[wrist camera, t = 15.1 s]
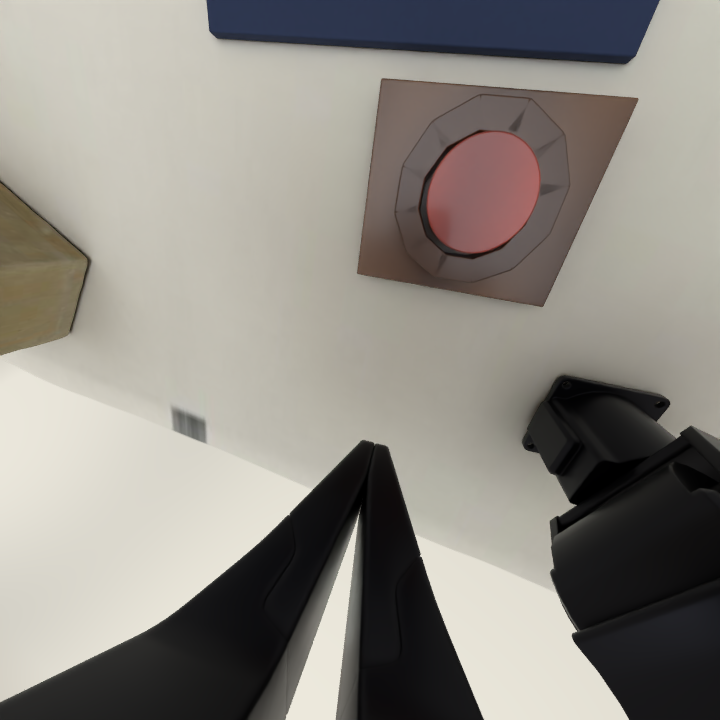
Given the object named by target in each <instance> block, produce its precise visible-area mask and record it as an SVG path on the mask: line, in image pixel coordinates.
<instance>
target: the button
mask: <svg viewBox="0 0 720 720" xmlns="http://www.w3.org/2000/svg"><path fill="white" fill-rule="evenodd" d="M540 182H541V177H540V168H539V163H538V161H537V158H536V155H535V154H534V152H533V150H532V149H531V147H530V146H529V145H528V144H527V143H526V142H525V141H524V140H523V139H522V138H520V137H518V136H516V135H515V134H512V133H509V132H505V131H495V130H492V131H484V132H481V133H477V134H475V135H472V136H470V137H468V138H466V139H465V140H463V141H461V142H460V143H458V144H457V145H456V146H455V147H453V148H452V149H451V150H450V151H449V152H448V153H447V154H446V156H445V157H444V158H443V159H442V161H441V162H440V164H439V165H438V167H437V168H436V170H435V172H434V174H433V176H432V179H431V182H430V185H429V189H428V194H427V205H426V209H427V217H428V222H429V225H430V227H431V229H432V231H433V233H434V234H435V236H436V237H437V238H438V239H439V240H440V241H441V242H442V243H443V244H445V245H446V246H447V247H449V248H451V249H453V250H455V251H458V252H462V253H470V254H473V253H482V252H486V251H490V250H493V249H495V248H497V247H499V246H501V245H503V244H504V243H506V242H507V241H509V240H510V239H511V238H513V237H514V236H515V235H516V234H517V233H518V232H519V231H520V230H521V229H522V227H523V226H524V225H525V223H526V222H527V221H528V219H529V217H530V216H531V214H532V212H533V210H534V208H535V205H536V203H537V199H538V196H539V191H540Z"/></svg>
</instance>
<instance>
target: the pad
mask: <svg viewBox="0 0 720 720" xmlns="http://www.w3.org/2000/svg"><path fill="white" fill-rule="evenodd" d="M659 1H660V0H207V9H208V21H209V31H210V32H211V33H212V34H213V35H214V36H215V37H216V38H222V39H238V40H254V41H270V42H286V43H302V44H319V45H335V46H351V47H367V48H383V49H399V50H415V51H432V52H448V53H464V54H480V55H496V56H512V57H528V58H545V59H561V60H577V61H593V62H609V63H625V64H626V63H628V62H629V61H630V60H631V59H633V58H634V57H635V56H636V54H637V51H638V49H639V47H640V44H641V42H642V40H643V37H644V35H645V33H646V31H647V28H648V26H649V24H650V21H651V19H652V17H653V14H654V12H655V10H656V7H657V5H658V3H659Z"/></svg>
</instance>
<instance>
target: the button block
mask: <svg viewBox="0 0 720 720" xmlns="http://www.w3.org/2000/svg"><path fill="white" fill-rule="evenodd" d="M637 102H638V98H631V97H618V96H605V95H592V94H579V93H566V92H553V91H540V90H527V89H514V88H501V87H488V86H475V85H462V84H449V83H436V82H423V81H410V80H397V79H384V78H383V79H382V80H381V86H380V94H379V102H378V110H377V118H376V126H375V134H374V142H373V150H372V158H371V166H370V174H369V182H368V190H367V198H366V206H365V214H364V223H363V231H362V239H361V247H360V255H359V263H358V271H357V273H358V274H361V275H367V276H372V277H378V278H384V279H389V280H395V281H400V282H406V283H411V284H417V285H423V286H428V287H434V288H439V289H445V290H450V291H456V292H462V293H467V294H473V295H478V296H484V297H490V298H495V299H501V300H506V301H512V302H517V303H523V304H529V305H534V306H540V307H543V306H544V304H545V301H546V299H547V297H548V295H549V293H550V291H551V288H552V286H553V284H554V282H555V280H556V278H557V275H558V273H559V271H560V269H561V267H562V265H563V262H564V260H565V258H566V256H567V254H568V251H569V249H570V247H571V245H572V243H573V241H574V238H575V236H576V234H577V232H578V230H579V228H580V225H581V223H582V221H583V219H584V217H585V215H586V212H587V210H588V208H589V206H590V204H591V202H592V199H593V197H594V195H595V193H596V191H597V189H598V186H599V184H600V182H601V180H602V178H603V176H604V173H605V171H606V169H607V167H608V165H609V163H610V160H611V158H612V156H613V154H614V152H615V150H616V147H617V145H618V143H619V141H620V139H621V137H622V134H623V132H624V130H625V128H626V126H627V124H628V121H629V119H630V117H631V115H632V113H633V111H634V108H635V106H636V104H637ZM492 130H495V131H505V132H509V133H512V134H515V135H516V136H518V137H520V138H522V139H523V140H524V141H525V142H526V143H527V144H528V145H529V146H530V147H531V149H532V150H533V152H534V154H535V155H536V158H537V161H538V163H539V168H540V177H541V182H540V191H539V196H538V199H537V203H536V205H535V208H534V210H533V212H532V214H531V216H530V217H529V219H528V221H527V222H526V223H525V225H524V226H523V227H522V229H521V230H520V231H519V232H518V233H517V234H516V235H515V236H514V237H513V238H511V239H510V240H509V241H507V242H506V243H504V244H503V245H501V246H499V247H497V248H495V249H493V250H490V251H486V252H482V253H473V254H470V253H462V252H458V251H455V250H453V249H451V248H449V247H447V246H446V245H445V244H443V243H442V242H441V241H440V240H439V239H438V238H437V237H436V236H435V234H434V233H433V231H432V229H431V227H430V225H429V222H428V217H427V209H426V205H427V194H428V189H429V185H430V182H431V179H432V176H433V174H434V172H435V170H436V168H437V167H438V165H439V164H440V162H441V161H442V159H443V158H444V157H445V156H446V154H447V153H448V152H449V151H450V150H451V149H452V148H453V147H455V146H456V145H457V144H458V143H460V142H461V141H463V140H465V139H466V138H468V137H470V136H472V135H475V134H477V133H481V132H484V131H492Z"/></svg>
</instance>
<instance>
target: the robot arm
mask: <svg viewBox="0 0 720 720" xmlns="http://www.w3.org/2000/svg"><path fill="white" fill-rule="evenodd" d="M564 382H568V383H567V384H566V385H562V384H563V383H564ZM657 402H659V403H658V404H656V403H657ZM669 406H670V401H669V400H668V399H667V398H665V397H664V396H662V395H658V394H653V393H649V392H644V391H639V390H634V389H630V388H625V387H620V386H615V385H610V384H606V383H601V382H596V381H591V380H586V379H582V378H577V377H572V376H566V375H564V376H560V377H559V378H558V379H557V380H556V381H555V383H554V385H553V387H552V388H551V390H550V392H549V394H548V396H547V397H546V399H545V401H543V402H542V403H541V404H540V406H539V408H538V410H537V412H536V414H535V415H534V417H533V419H532V421H531V423H530V424H529V426H528V428H527V430H528V432H527V433H526V435H525V437H524V439H523V441H522V444H523V446H524V448H525V449H526V450H528V451H532V452H536V453H540V455H541V457H542V459H543V461H544V463H545V465H546V467H547V469H548V471H549V472H550V473H551V474H554V475H556V477H557V479H558V481H559V483H560V484H561V486H562V488H563V490H564V492H565V494H566V496H567V498H568V500H569V501H570V503H572V504H575V505H577V506H575V507H574V508H572V509H571V510H569V511H568V512H566V513H565V514H563V515H562V516H560V517H559V516H556V517H555V518H553V519H552V520H550V529H551V540H552V546H551V550H552V557H553V563H554V569H552V570H551V572H550V573H551V578H552V582H553V584H554V586H555V589H556V591H557V594H558V596H559V598H560V601H561V603H562V606H563V607H564V609H565V612H566V613H567V615H568V617H569V619H570V621H571V622H572V624H573V625H574V627H575V629H576V630H577V632H575V633H573V634H572V638H573V640H574V642H575V644H576V645H577V646H578V648H579V649H580V650H581V651H582V653H583V654H584V655H585V656H586V657H587V659H588V660H589V661H590V662H591V663H592V665H593V666H594V667H595V668H596V670H597V671H598V672H599V673H600V675H601V676H602V678H603V679H604V681H605V682H606V684H607V685H608V687H609V688H610V690H611V691H612V692H613V694H614V696H615V697H616V698H617V700H618V702H619V703H620V704H621V706H622V708H623V710H624V711H625V713H626V715H627V716H628V718H629V720H720V440H719V439H717V438H715V437H713V436H711V435H709V434H707V433H705V432H703V431H701V430H699V429H697V428H695V427H693V426H690V427H688V428H687V429H685V430H684V431H682V432H681V433H680V434H681V436H680V437H678V438H677V439H676V438H675V437H674V436H673V435H671V434H670V433H669V432H668V431H667V430H665V429H664V428H663V427H662V426H661V425H659V424H658V423H657V420H658V419H659V418H660V417H661V416H662V414H663V413H664V412H665V411H666V410H667V408H668V407H669ZM530 443H532V444H531V445H528V444H530ZM360 507H361V508H360ZM359 511H360V513H359ZM358 515H359V520H358V527H357V537H356V545H355V554H354V563H353V571H352V580H351V590H350V598H349V607H348V616H347V624H346V634H345V642H344V652H343V660H342V669H341V678H340V687H339V695H338V704H337V713H336V720H484V719H483V717H482V715H481V712H480V709H479V707H478V704H477V702H476V700H475V698H474V696H473V692H472V690H471V687H470V685H469V683H468V680H467V678H466V675H465V673H464V671H463V668H462V665H461V663H460V661H459V658H458V656H457V653H456V651H455V648H454V646H453V644H452V641H451V639H450V636H449V634H448V631H447V629H446V626H445V624H444V621H443V618H442V616H441V613H440V610H439V608H438V606H437V603H436V600H435V597H434V594H433V591H432V588H431V585H430V582H429V579H428V576H427V573H426V570H425V566H424V564H423V560H422V557H420V550H419V548H418V544H417V541H416V537H415V534H414V531H413V527H412V524H411V521H410V518H409V514H408V511H407V508H406V504H405V501H404V498H403V495H402V491H401V488H400V485H399V481H398V478H397V475H396V471H395V468H394V465H393V462H392V458H391V455H390V452H389V449H388V447H387V446H385V445H381V444H375V446H374V443H373V442H369V441H366V440H362V441H361V442H360V443H359V444H358V445H357V446H356V447H355V448H354V449H353V450H352V451H351V452H350V453H349V454H348V455H347V456H346V457H345V458H344V459H343V460H342V461H341V462H340V463H339V464H338V465H337V466H336V467H335V468H334V469H333V470H332V471H331V472H330V473H329V474H328V475H327V476H326V477H325V478H324V479H323V480H322V481H321V482H320V483H319V484H318V485H317V486H316V487H315V488H314V489H313V490H312V492H310V493H309V494H308V495H307V497H305V498H304V499H303V500H302V501H301V502H300V503H299V504H298V506H297V507H296V508H295V509H294V510H293V511H292V512H291V513H290V516H289V515H288V516H287V517H285V518H284V520H282V522H281V523H280V524H279V525H278V526H277V527H276V528H274V529H273V530H272V532H270V533H269V534H268V535H267V536H266V537H265V538H264V539H263V540H262V541H261V542H260V543H259V544H257V545H256V546H255V547H254V548H253V549H252V550H250V551H249V552H248V553H247V554H246V555H245V556H243V557H242V558H241V559H240V560H239V561H237V562H236V563H235V564H234V565H233V566H231V567H230V568H229V569H228V570H226V571H225V572H224V573H223V574H222V575H220V576H219V577H218V578H217V579H216V580H214V581H213V582H212V583H211V584H209V585H208V586H207V587H206V588H205V589H203V590H202V591H201V592H200V593H198V594H197V595H196V596H195V597H194V598H192V599H191V600H190V601H189V602H187V603H186V604H185V605H184V606H182V607H181V608H180V609H179V610H177V611H176V612H175V613H173V614H172V615H171V616H169V617H168V618H166V619H165V620H163V621H162V622H160V623H159V624H157V625H156V626H154V627H152V628H150V629H149V630H147V631H145V632H143V633H141V634H139V635H138V636H135V637H133V638H132V639H129V640H127V641H125V642H123V643H121V644H119V645H117V646H115V647H113V648H111V649H109V650H107V651H105V652H103V653H101V654H99V655H97V656H94V657H92V658H90V659H88V660H86V661H85V662H82V663H80V664H78V665H76V666H74V667H72V668H70V669H68V670H66V671H64V672H62V673H60V674H58V675H56V676H53V677H51V678H49V679H47V680H45V681H43V682H41V683H39V684H37V685H35V686H33V687H31V688H29V689H27V690H25V691H23V692H21V693H19V694H17V695H15V696H13V697H11V698H8V699H6V700H4V701H2V702H0V720H285V719H286V714H287V713H288V711H289V708H290V705H291V702H292V699H293V697H294V694H295V691H296V688H297V685H298V683H299V680H300V677H301V674H302V671H303V669H304V666H305V663H306V660H307V658H308V655H309V652H310V649H311V646H312V644H313V640H314V638H315V635H316V632H317V629H318V627H319V624H320V621H321V618H322V616H323V613H324V610H325V607H326V605H327V602H328V599H329V596H330V593H331V590H332V588H333V585H334V582H335V580H336V577H337V574H338V571H339V568H340V566H341V563H342V560H343V557H344V554H345V552H346V549H347V546H348V543H349V540H350V538H351V535H352V532H353V529H354V527H355V524H356V521H357V518H358Z"/></svg>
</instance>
